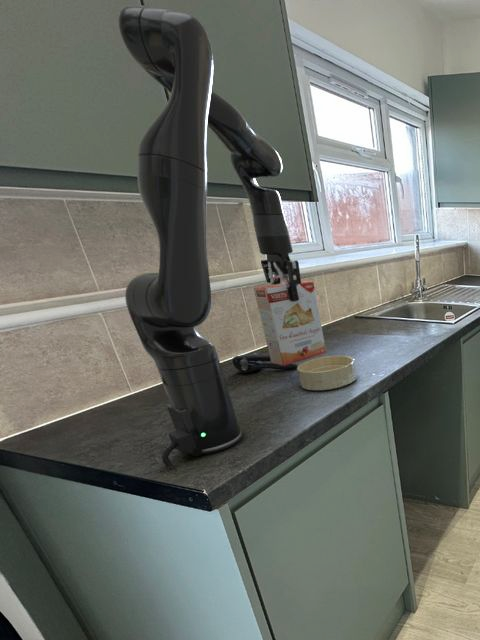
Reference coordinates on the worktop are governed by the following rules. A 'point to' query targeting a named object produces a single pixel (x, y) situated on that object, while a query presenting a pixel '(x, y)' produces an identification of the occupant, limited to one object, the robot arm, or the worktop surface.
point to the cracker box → (290, 323)
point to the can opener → (256, 363)
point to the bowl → (326, 372)
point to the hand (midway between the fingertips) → (287, 299)
